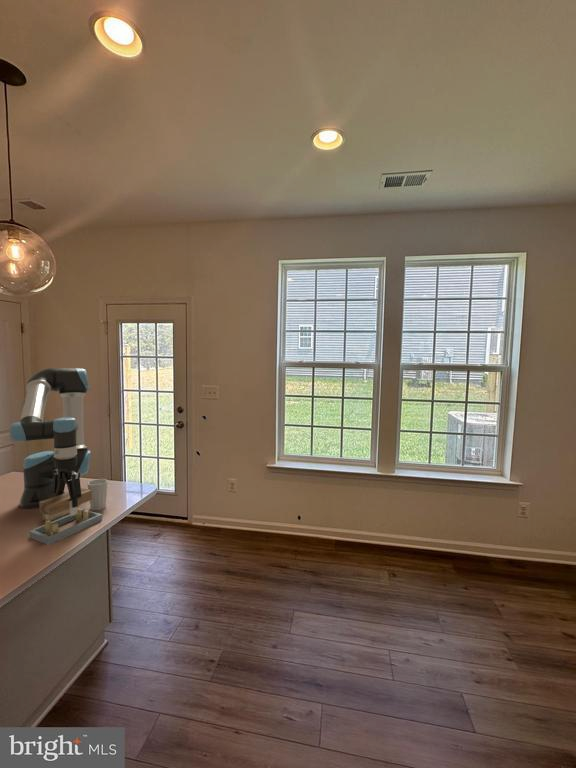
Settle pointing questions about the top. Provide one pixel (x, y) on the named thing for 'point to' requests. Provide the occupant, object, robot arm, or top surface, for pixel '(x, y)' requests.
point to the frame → (57, 536)
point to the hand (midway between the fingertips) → (67, 512)
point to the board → (62, 502)
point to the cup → (98, 493)
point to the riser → (48, 517)
